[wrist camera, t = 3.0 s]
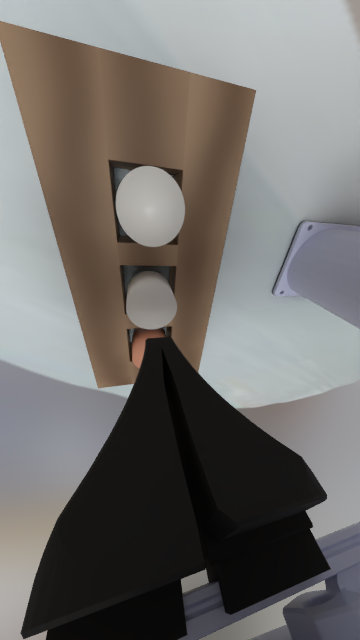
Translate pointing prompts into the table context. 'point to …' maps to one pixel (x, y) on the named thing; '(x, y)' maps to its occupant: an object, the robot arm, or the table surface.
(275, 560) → the robot arm
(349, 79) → the table surface
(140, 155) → the walnut board
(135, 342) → the terracotta plug
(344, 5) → the table surface
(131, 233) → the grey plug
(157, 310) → the grey plug middle
